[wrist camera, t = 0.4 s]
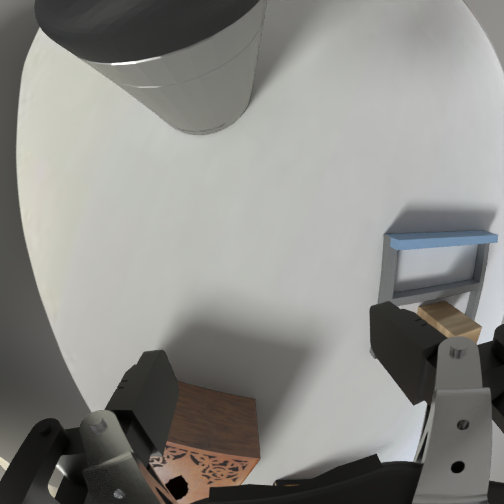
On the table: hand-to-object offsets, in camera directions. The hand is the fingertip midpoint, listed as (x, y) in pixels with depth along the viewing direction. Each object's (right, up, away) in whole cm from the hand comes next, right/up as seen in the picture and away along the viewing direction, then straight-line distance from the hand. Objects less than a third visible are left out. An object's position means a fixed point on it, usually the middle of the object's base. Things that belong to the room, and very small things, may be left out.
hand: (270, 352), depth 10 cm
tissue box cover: (-11, -25, +25) cm, 37 cm away
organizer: (+23, -1, +20) cm, 30 cm away
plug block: (+23, -4, +21) cm, 31 cm away
